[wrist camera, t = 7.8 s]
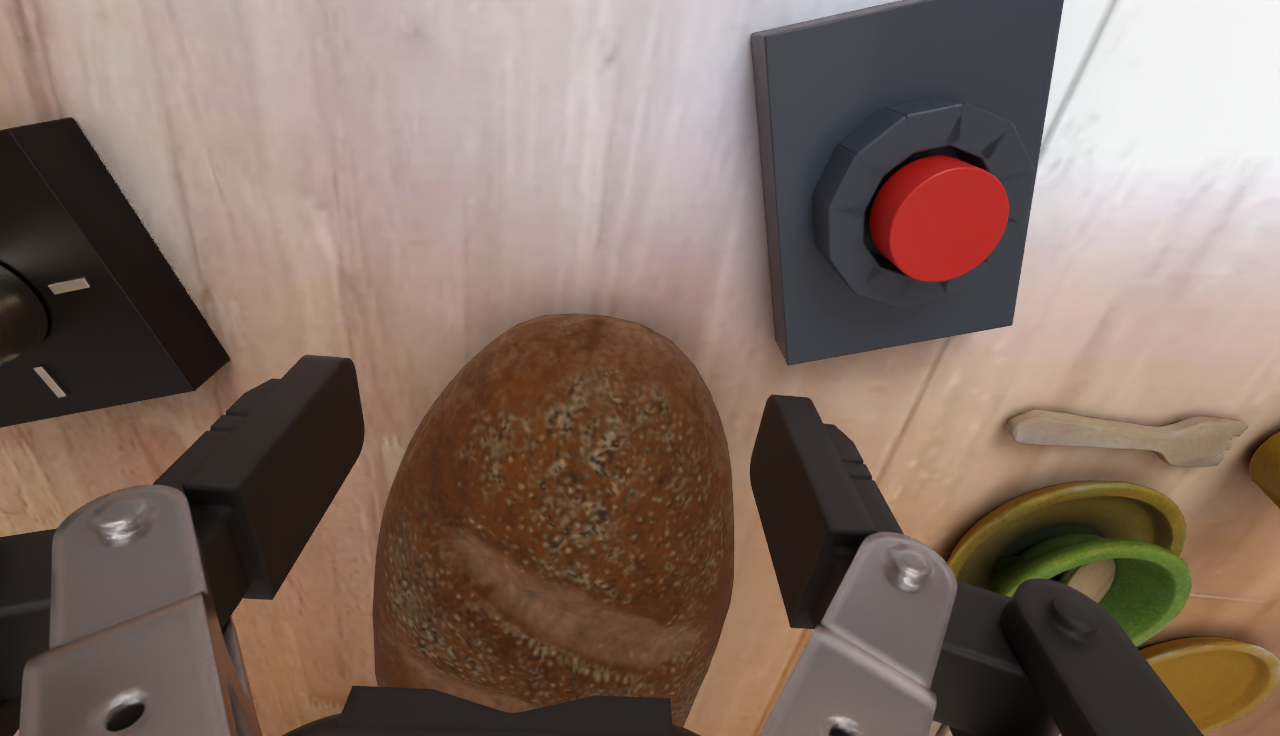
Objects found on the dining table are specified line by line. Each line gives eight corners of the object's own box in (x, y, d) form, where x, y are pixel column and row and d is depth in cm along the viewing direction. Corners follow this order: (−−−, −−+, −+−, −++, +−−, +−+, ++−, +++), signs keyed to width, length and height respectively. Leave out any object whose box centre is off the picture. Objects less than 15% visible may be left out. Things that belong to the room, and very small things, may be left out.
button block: (750, 33, 20) (778, 36, 16) (1024, -27, 19) (1114, -37, 16) (775, 340, 26) (799, 390, 22) (983, 302, 25) (1041, 347, 22)
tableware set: (1010, 380, 27) (1108, 470, 22) (1536, 409, 29) (1746, 499, 24) (806, 798, 48) (830, 896, 43) (1119, 799, 50) (1180, 893, 45)
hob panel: (-181, 174, 21) (-278, 194, 19) (72, 116, 20) (3, 129, 18) (23, 399, 26) (-34, 436, 24) (231, 359, 25) (192, 393, 23)
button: (868, 167, 18) (891, 180, 17) (985, 144, 18) (1017, 155, 17) (867, 272, 20) (887, 292, 19) (973, 252, 20) (1001, 271, 19)
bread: (413, 682, 38) (343, 911, 28) (409, 266, 23) (261, 443, 14) (647, 700, 40) (656, 919, 30) (779, 326, 25) (879, 519, 16)
